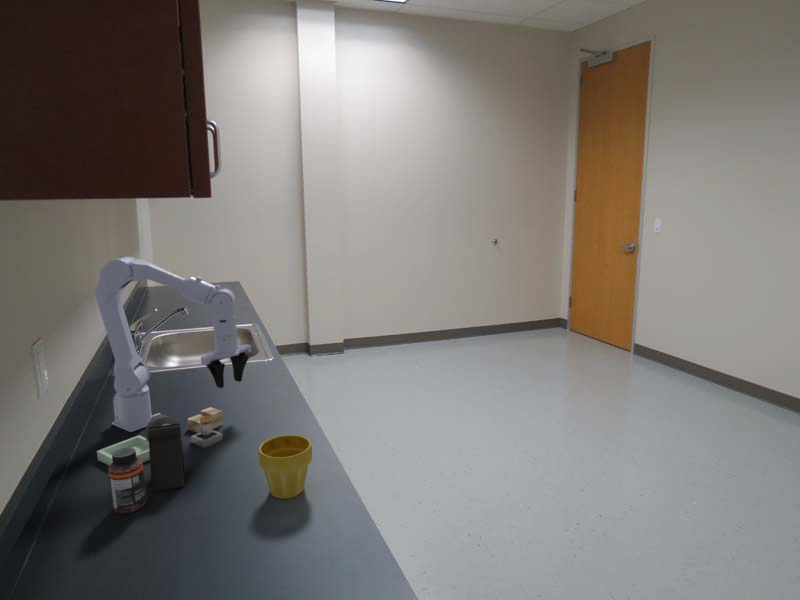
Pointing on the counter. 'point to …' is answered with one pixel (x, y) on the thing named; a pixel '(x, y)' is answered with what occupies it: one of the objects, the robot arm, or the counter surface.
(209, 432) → the pin
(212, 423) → the block
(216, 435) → the pin socket
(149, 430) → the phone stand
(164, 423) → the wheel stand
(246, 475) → the counter surface
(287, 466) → the plant pot
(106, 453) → the tray
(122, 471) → the supplement bottle
